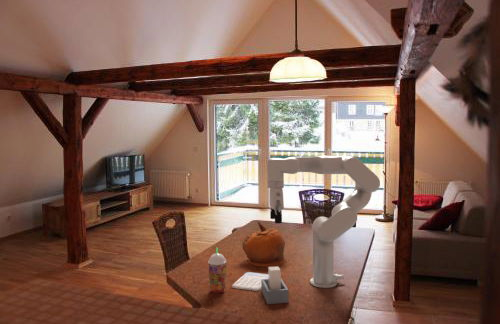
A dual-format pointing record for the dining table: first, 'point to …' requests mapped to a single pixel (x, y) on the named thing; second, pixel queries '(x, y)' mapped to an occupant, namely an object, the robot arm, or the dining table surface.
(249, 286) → the calculator
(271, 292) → the grey open box
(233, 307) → the dining table surface
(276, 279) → the post
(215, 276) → the smoothie
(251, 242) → the pumpkin
